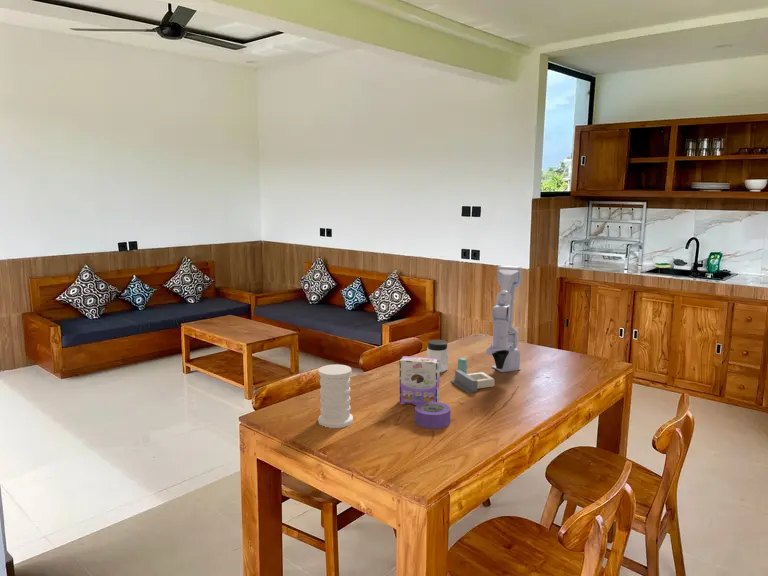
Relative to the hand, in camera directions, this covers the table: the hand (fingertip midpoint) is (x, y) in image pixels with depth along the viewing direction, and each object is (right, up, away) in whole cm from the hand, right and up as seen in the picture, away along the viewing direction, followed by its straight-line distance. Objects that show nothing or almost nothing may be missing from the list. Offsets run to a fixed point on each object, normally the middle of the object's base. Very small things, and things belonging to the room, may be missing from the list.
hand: (499, 368), depth 235 cm
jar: (-23, -3, +16) cm, 29 cm away
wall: (-14, -6, -4) cm, 16 cm away
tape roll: (-30, -13, -38) cm, 50 cm away
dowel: (-14, -4, +8) cm, 17 cm away
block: (-9, -6, -2) cm, 11 cm away
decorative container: (-62, -13, -38) cm, 74 cm away
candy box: (-33, -10, -21) cm, 41 cm away
